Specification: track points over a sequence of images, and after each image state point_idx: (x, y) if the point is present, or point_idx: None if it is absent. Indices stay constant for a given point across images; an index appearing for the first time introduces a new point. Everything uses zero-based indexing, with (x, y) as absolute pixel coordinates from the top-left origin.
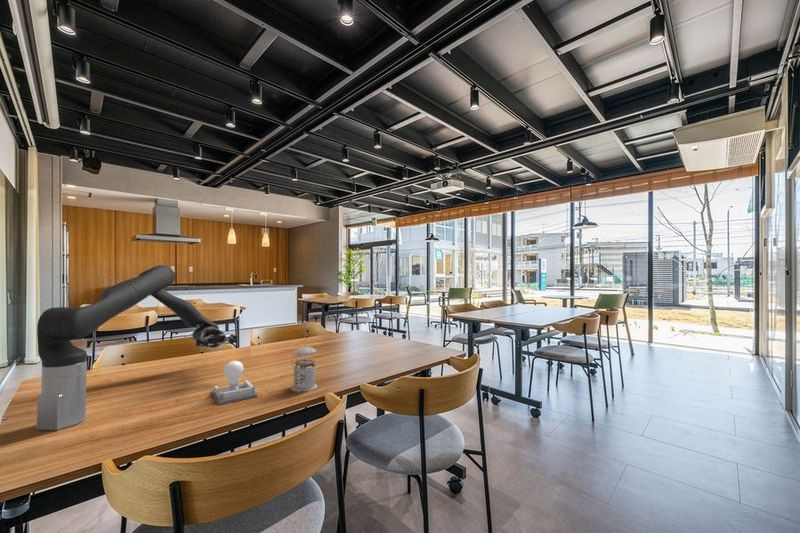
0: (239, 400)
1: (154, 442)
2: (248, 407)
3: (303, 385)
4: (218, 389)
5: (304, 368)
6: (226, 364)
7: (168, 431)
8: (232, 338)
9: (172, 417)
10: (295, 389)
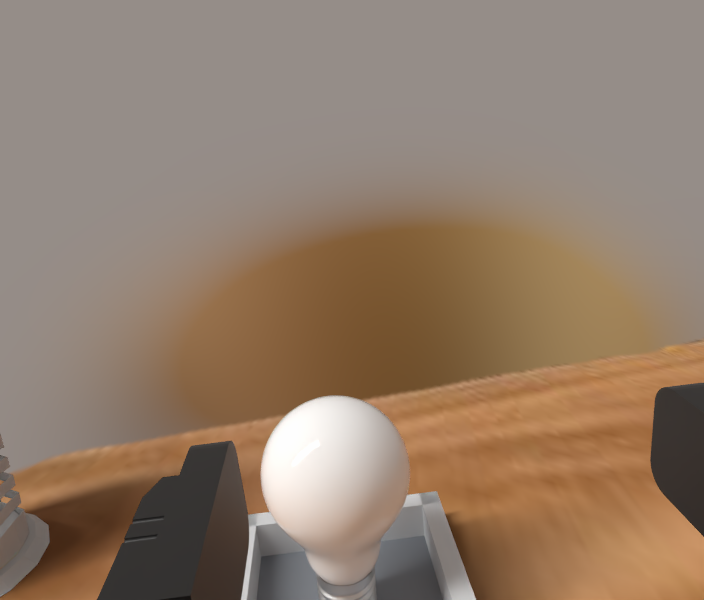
0: None
1: (595, 371)
2: None
3: (11, 497)
4: (450, 562)
5: None
6: (386, 426)
7: (585, 401)
8: (198, 449)
9: (632, 474)
10: (37, 534)
